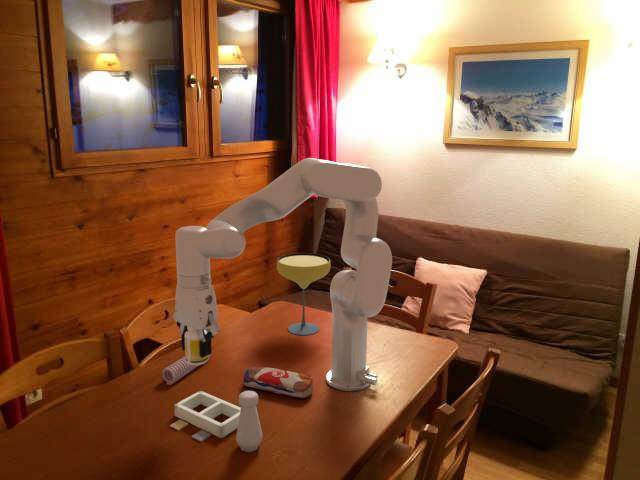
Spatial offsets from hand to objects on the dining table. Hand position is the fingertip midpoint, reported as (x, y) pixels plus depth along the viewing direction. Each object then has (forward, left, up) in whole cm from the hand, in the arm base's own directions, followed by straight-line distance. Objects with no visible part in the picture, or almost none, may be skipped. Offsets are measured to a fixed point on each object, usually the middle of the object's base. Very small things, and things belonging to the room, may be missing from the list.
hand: (196, 351), depth 127 cm
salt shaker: (-19, +3, -17) cm, 26 cm away
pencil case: (-8, -21, -17) cm, 28 cm away
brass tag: (0, +6, -17) cm, 18 cm away
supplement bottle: (0, 0, -3) cm, 3 cm away
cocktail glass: (+11, -58, -17) cm, 62 cm away
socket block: (-4, 0, -17) cm, 17 cm away
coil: (+20, -14, -17) cm, 30 cm away
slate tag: (-8, +6, -17) cm, 19 cm away
